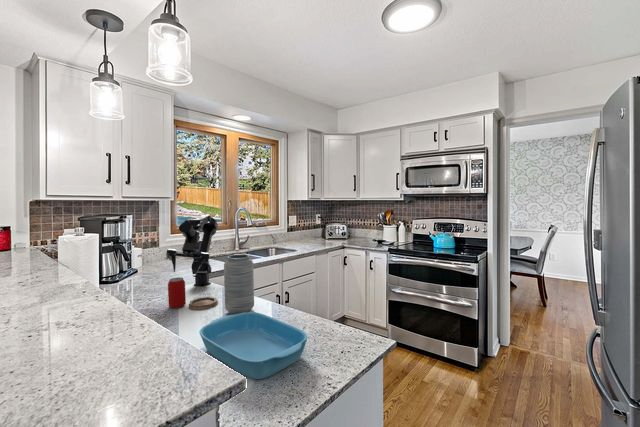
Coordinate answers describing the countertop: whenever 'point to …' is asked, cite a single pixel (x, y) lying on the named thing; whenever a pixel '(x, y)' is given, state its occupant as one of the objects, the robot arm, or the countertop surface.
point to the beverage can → (176, 293)
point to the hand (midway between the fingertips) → (185, 272)
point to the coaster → (203, 303)
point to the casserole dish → (253, 343)
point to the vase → (239, 284)
